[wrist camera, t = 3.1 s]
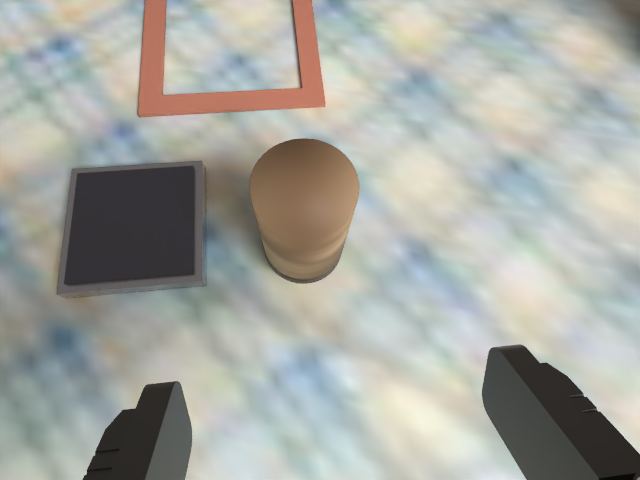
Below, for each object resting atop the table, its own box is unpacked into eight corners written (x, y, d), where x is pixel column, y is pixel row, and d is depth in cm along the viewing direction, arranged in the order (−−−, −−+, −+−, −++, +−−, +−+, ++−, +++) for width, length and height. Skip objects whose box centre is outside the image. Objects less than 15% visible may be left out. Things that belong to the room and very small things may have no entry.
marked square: (308, -21, 33) (308, -25, 33) (325, 106, 28) (325, 103, 28) (148, -17, 32) (146, -20, 32) (139, 116, 27) (138, 114, 27)
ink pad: (205, 168, 26) (201, 158, 25) (206, 285, 24) (201, 280, 22) (80, 177, 26) (69, 166, 24) (66, 298, 23) (53, 293, 22)
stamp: (337, 208, 26) (351, 135, 18) (346, 279, 24) (366, 231, 17) (263, 214, 25) (246, 142, 18) (267, 286, 24) (251, 240, 16)
